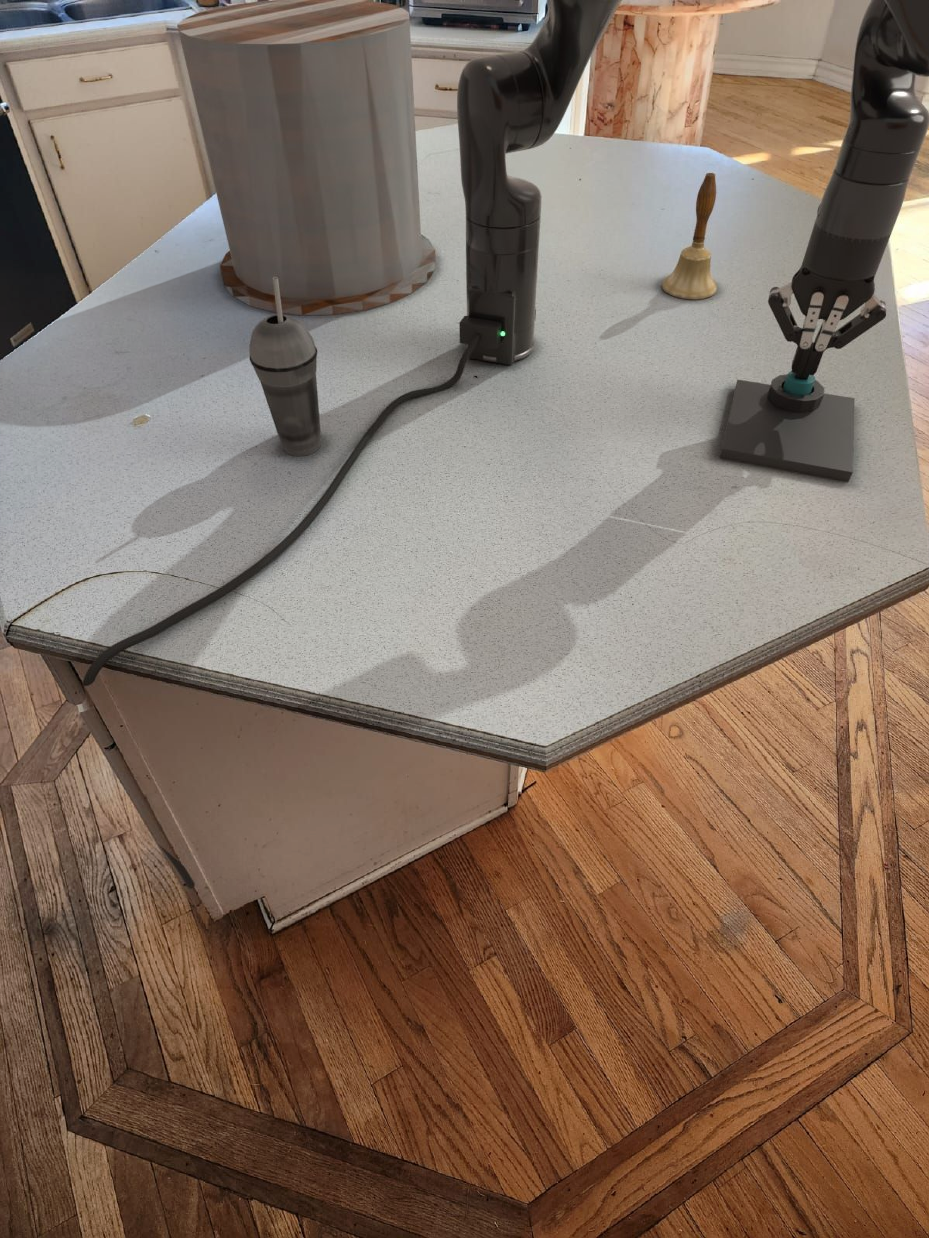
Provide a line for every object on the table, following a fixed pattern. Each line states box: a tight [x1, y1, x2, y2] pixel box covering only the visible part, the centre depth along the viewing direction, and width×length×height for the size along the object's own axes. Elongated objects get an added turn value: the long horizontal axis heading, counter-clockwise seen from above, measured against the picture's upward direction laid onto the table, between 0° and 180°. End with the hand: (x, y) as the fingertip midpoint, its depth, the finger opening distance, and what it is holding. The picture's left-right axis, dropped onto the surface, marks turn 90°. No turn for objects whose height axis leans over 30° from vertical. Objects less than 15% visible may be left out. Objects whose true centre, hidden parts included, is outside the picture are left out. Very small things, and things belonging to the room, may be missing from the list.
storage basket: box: [177, 0, 437, 316], centre depth 113 cm, size 35×35×32 cm
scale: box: [718, 373, 856, 483], centre depth 89 cm, size 16×14×3 cm
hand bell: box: [661, 172, 718, 301], centre depth 111 cm, size 8×8×16 cm
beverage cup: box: [249, 277, 322, 457], centre depth 83 cm, size 7×7×20 cm
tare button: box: [783, 370, 816, 396], centre depth 91 cm, size 3×3×2 cm
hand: (801, 375), depth 91 cm, fingers closed
